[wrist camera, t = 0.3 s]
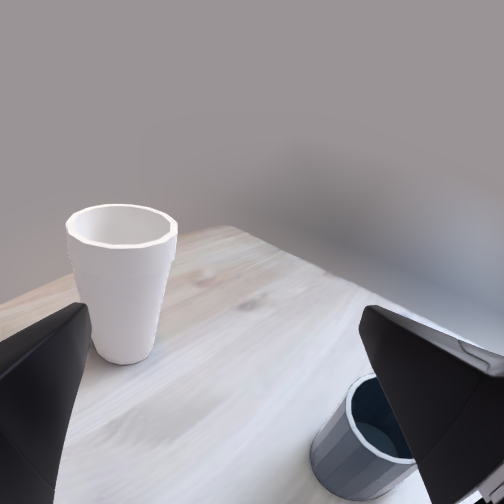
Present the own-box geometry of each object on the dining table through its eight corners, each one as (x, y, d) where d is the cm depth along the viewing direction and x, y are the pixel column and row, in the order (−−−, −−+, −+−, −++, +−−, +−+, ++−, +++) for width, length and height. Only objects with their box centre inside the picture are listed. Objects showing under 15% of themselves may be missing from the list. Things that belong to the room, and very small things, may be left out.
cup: (411, 487, 17) (461, 448, 14) (320, 509, 15) (365, 476, 13) (382, 416, 25) (418, 370, 22) (302, 422, 24) (331, 372, 21)
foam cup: (63, 340, 25) (46, 219, 20) (122, 303, 33) (124, 197, 28) (127, 393, 22) (118, 263, 17) (185, 342, 30) (200, 226, 25)
